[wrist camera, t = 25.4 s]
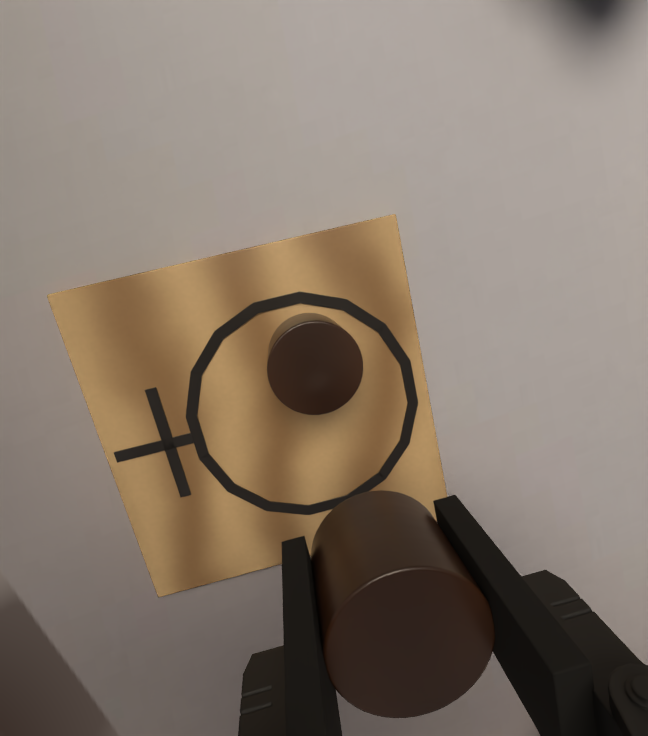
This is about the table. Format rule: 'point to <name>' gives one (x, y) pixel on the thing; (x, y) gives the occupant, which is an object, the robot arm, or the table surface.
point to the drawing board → (249, 398)
